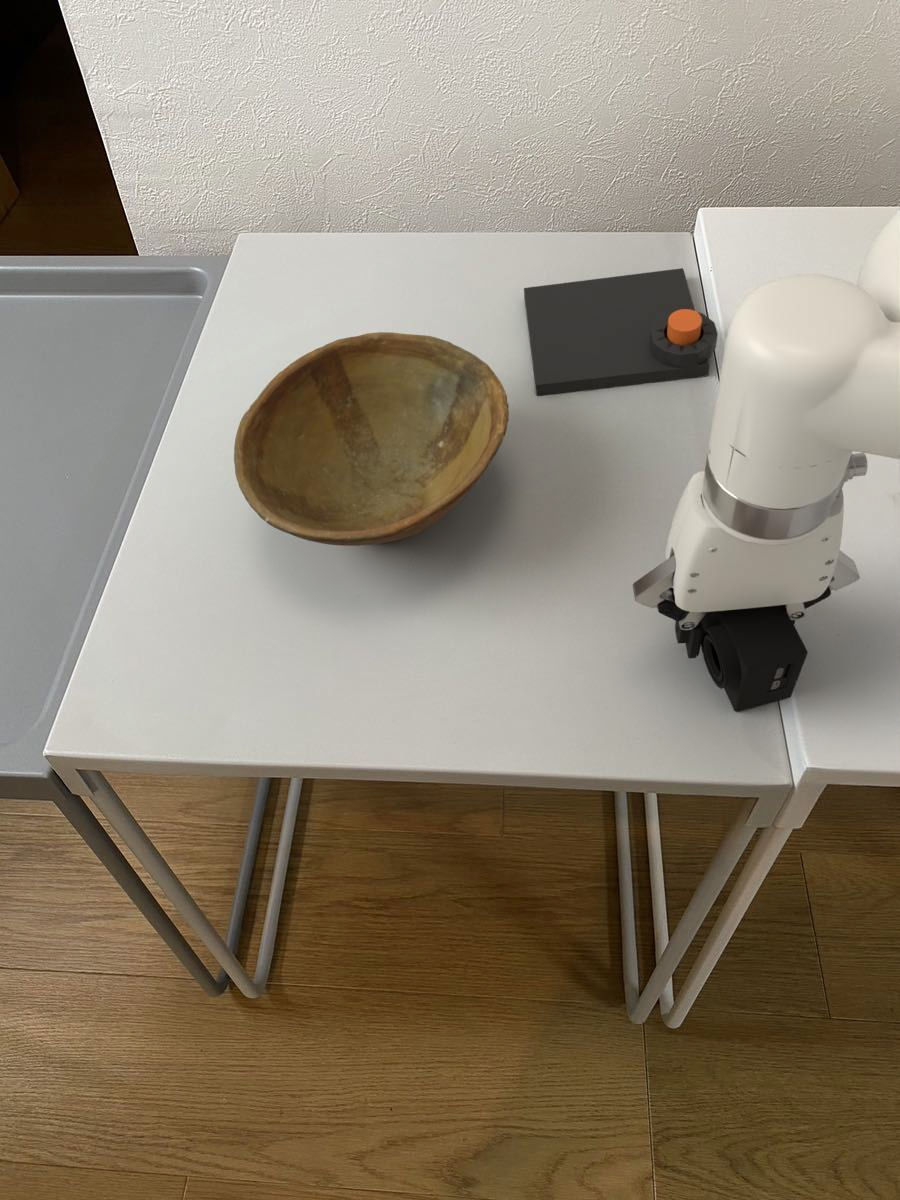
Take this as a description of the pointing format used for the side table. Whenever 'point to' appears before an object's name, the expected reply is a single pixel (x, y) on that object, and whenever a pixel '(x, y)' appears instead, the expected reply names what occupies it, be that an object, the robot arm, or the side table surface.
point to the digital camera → (753, 654)
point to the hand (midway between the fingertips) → (730, 636)
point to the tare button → (684, 327)
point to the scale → (612, 332)
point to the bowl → (369, 438)
